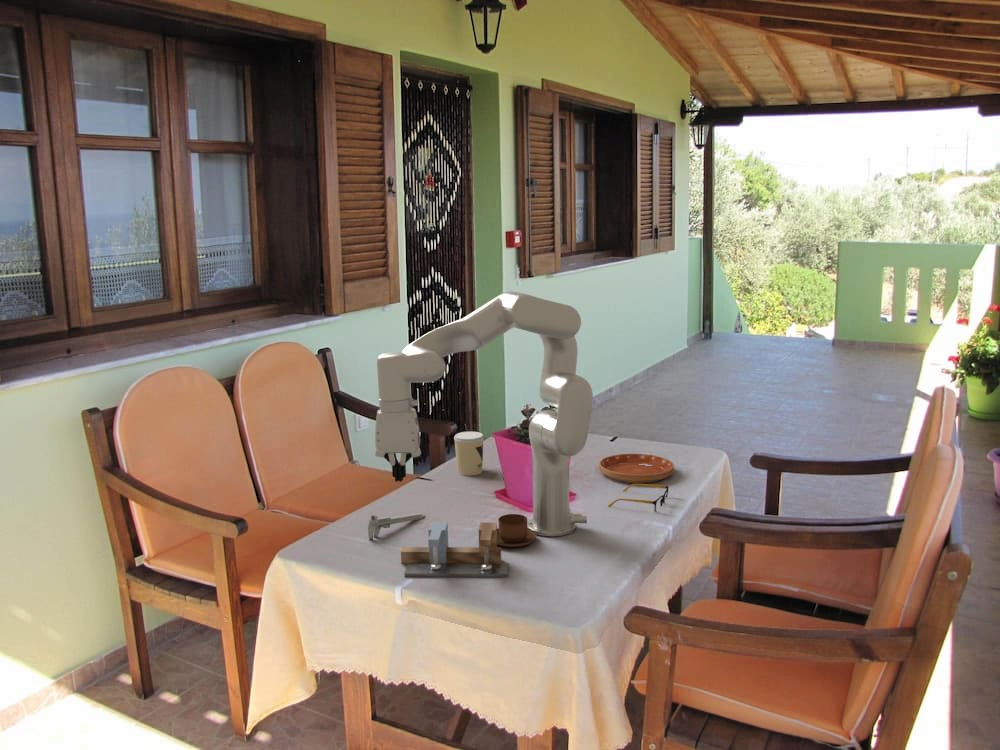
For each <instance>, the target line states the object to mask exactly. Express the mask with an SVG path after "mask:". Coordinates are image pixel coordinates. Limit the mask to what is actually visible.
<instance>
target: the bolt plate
mask: <svg viewBox="0 0 1000 750" xmlns="http://www.w3.org/2000/svg"><path fill="white" fill-rule="evenodd" d="M509 565H510V564H509V563H501V564H485V563H437V564H434V563H408V564H407V566H406V569H405V571H404V574H403V575H404V577H406V578H408V577H410V578H414V577H417V578H418V577H420V578H422V577H424V578H431V577H432V578H508V575H509V567H510V566H509Z"/></svg>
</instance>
